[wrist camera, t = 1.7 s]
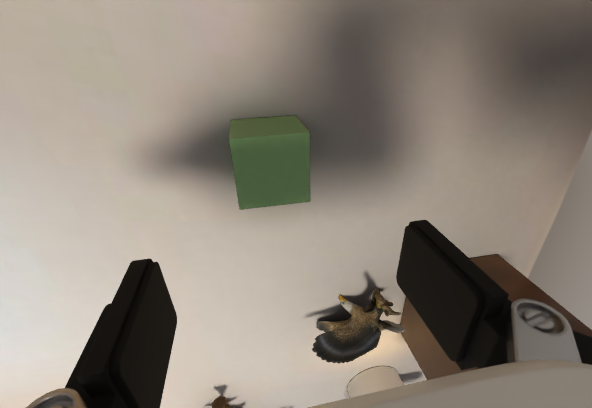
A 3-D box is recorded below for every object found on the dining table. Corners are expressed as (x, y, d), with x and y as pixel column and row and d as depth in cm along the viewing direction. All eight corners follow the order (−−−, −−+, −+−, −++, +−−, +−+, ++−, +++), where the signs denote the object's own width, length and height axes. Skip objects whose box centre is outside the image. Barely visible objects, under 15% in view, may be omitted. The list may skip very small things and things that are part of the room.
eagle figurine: (353, 270, 30) (296, 332, 30) (410, 326, 26) (343, 395, 27) (367, 275, 36) (319, 326, 37) (413, 321, 33) (360, 376, 33)
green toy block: (295, 115, 22) (309, 132, 18) (297, 174, 25) (310, 201, 20) (230, 119, 22) (228, 138, 17) (239, 180, 24) (239, 210, 20)
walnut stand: (497, 253, 34) (816, 510, 15) (472, 315, 40) (686, 562, 21) (412, 267, 33) (649, 569, 14) (398, 329, 38) (556, 608, 19)
